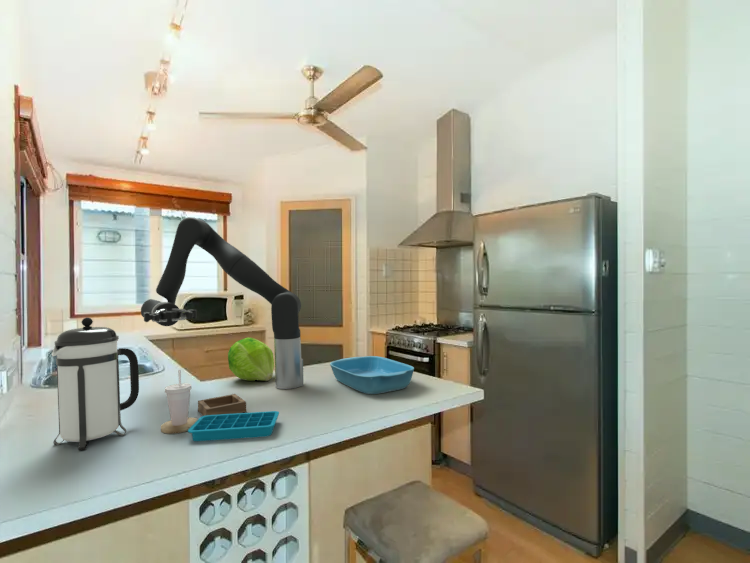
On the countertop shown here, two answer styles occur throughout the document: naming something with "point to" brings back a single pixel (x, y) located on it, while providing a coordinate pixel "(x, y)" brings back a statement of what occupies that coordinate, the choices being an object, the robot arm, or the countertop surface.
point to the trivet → (170, 429)
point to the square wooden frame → (222, 405)
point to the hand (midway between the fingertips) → (174, 316)
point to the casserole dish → (372, 374)
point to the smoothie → (178, 401)
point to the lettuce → (251, 360)
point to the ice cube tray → (234, 426)
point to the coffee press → (91, 383)
